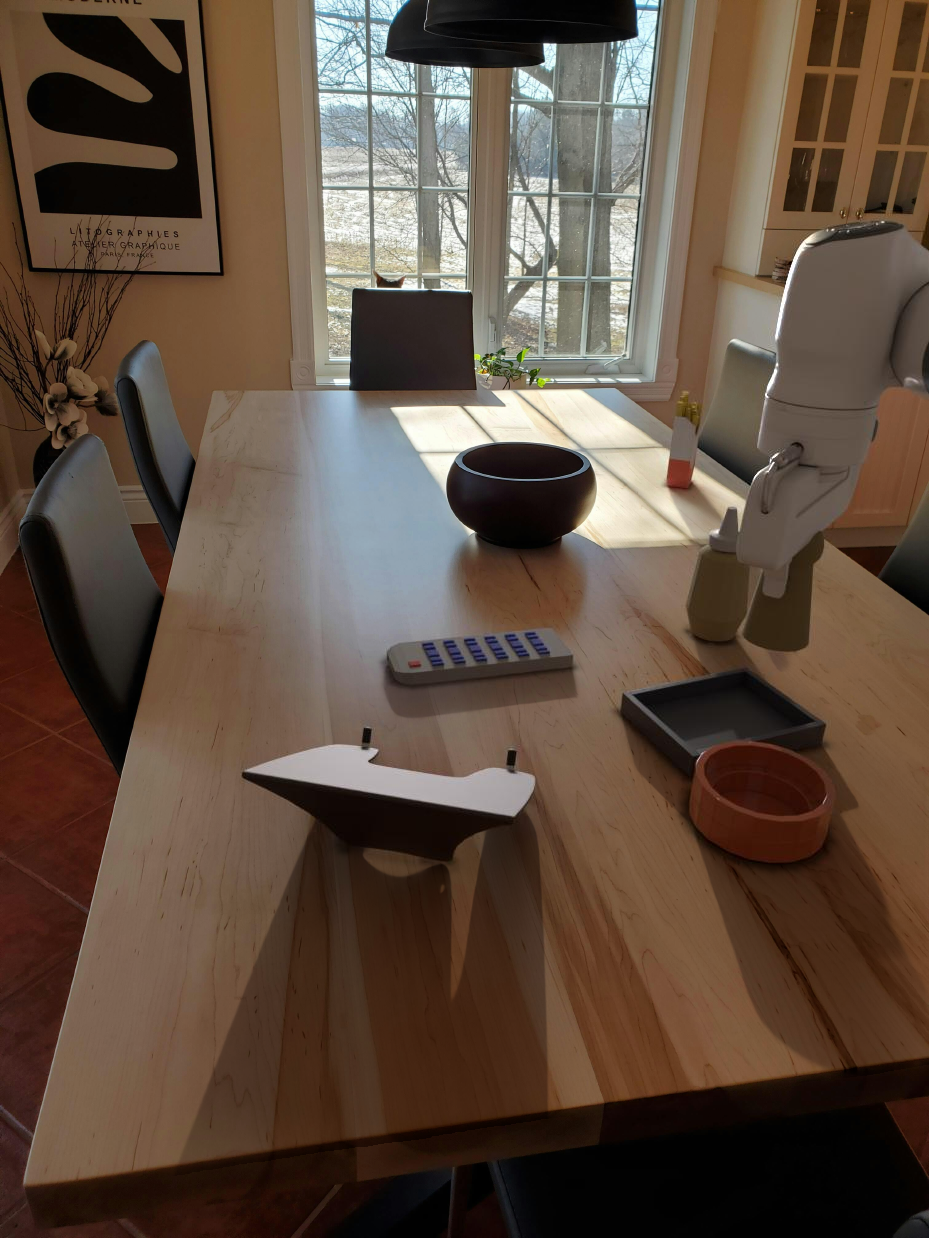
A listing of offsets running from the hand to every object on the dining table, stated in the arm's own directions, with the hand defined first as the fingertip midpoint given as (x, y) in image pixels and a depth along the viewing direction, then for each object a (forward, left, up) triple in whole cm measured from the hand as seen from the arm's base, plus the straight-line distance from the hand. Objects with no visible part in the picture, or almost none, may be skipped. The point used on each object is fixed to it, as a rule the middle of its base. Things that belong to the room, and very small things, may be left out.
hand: (785, 584), depth 81 cm
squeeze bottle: (-19, -31, -23) cm, 43 cm away
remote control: (+14, -34, -23) cm, 44 cm away
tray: (-5, -11, -23) cm, 26 cm away
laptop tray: (+33, -8, -23) cm, 41 cm away
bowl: (+2, +4, -23) cm, 23 cm away
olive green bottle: (0, 0, -6) cm, 6 cm away
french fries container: (-55, -90, -23) cm, 108 cm away
